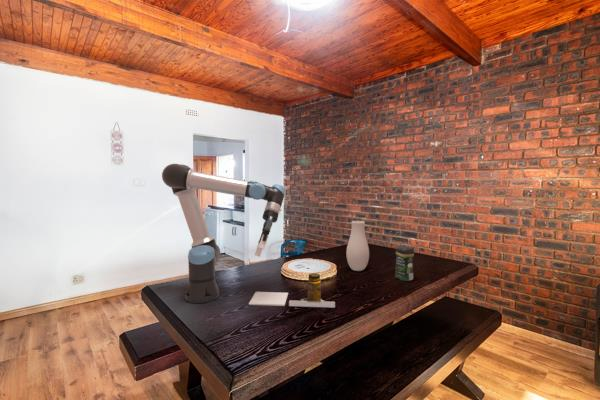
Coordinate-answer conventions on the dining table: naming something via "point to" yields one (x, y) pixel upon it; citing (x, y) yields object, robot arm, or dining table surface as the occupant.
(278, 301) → the mat
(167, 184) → the robot arm
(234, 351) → the dining table surface
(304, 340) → the dining table surface
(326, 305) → the bar
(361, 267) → the vase
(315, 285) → the condiment
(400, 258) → the coffee jar
